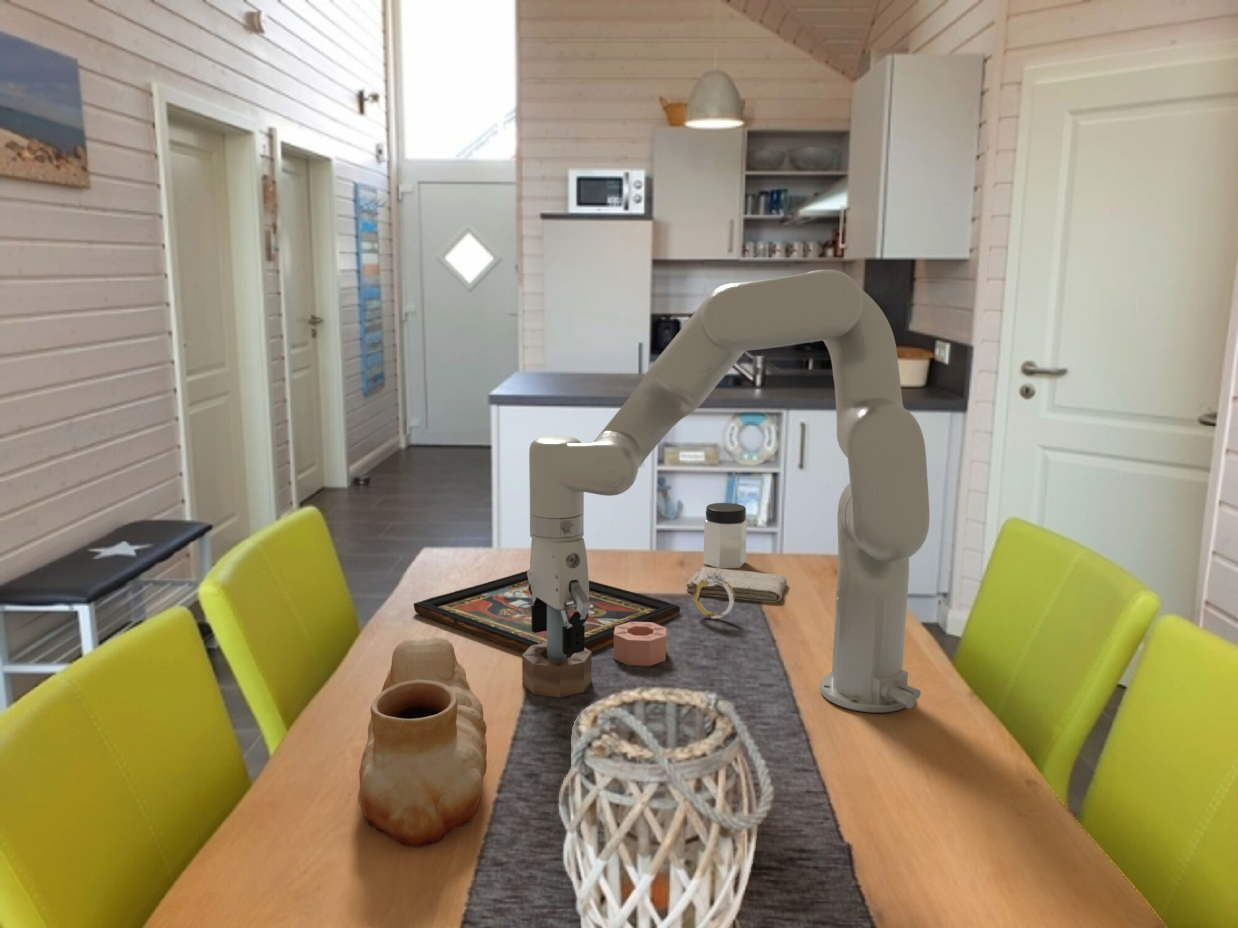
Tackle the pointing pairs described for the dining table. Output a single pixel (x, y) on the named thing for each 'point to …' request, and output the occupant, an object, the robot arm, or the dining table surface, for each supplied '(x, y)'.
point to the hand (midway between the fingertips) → (557, 641)
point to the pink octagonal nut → (640, 643)
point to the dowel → (554, 634)
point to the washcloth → (741, 584)
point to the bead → (555, 672)
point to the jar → (725, 535)
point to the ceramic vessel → (423, 747)
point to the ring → (714, 580)
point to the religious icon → (507, 612)
